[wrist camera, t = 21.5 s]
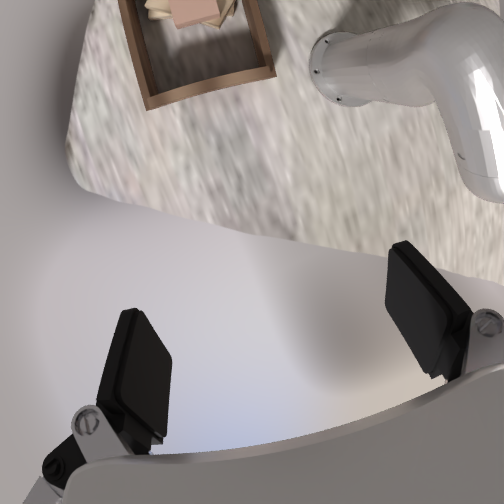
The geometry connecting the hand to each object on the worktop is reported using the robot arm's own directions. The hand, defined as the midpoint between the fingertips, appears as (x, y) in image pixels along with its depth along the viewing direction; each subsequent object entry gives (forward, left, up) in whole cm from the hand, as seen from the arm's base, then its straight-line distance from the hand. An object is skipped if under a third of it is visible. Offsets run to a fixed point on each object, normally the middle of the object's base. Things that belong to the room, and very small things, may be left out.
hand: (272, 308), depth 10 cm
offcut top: (0, -23, -32) cm, 40 cm away
